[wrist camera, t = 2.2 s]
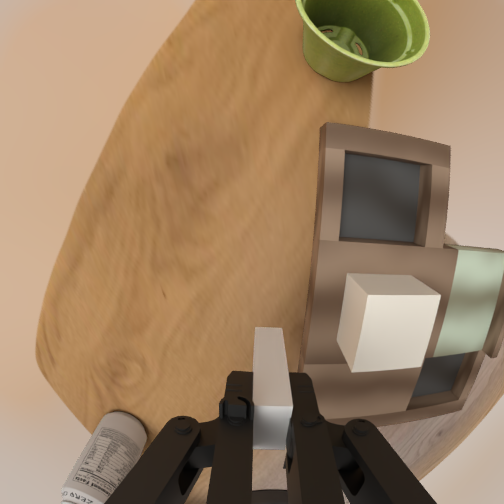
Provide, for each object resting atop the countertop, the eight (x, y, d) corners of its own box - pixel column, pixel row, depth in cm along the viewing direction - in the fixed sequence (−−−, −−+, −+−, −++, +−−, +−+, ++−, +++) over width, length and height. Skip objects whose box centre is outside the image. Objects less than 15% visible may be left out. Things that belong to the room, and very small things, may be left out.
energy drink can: (97, 419, 31) (48, 501, 16) (118, 400, 30) (65, 494, 15) (133, 446, 32) (98, 532, 17) (158, 431, 31) (122, 529, 16)
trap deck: (452, 399, 29) (468, 419, 25) (290, 417, 30) (293, 446, 25) (505, 168, 23) (532, 169, 19) (319, 127, 23) (332, 116, 19)
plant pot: (357, 7, 20) (387, -42, 12) (401, 88, 22) (451, 58, 14) (267, 24, 21) (271, -33, 13) (310, 112, 23) (335, 79, 15)
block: (397, 338, 25) (420, 366, 20) (336, 340, 25) (351, 372, 20) (411, 275, 23) (441, 295, 18) (347, 273, 23) (367, 294, 18)
